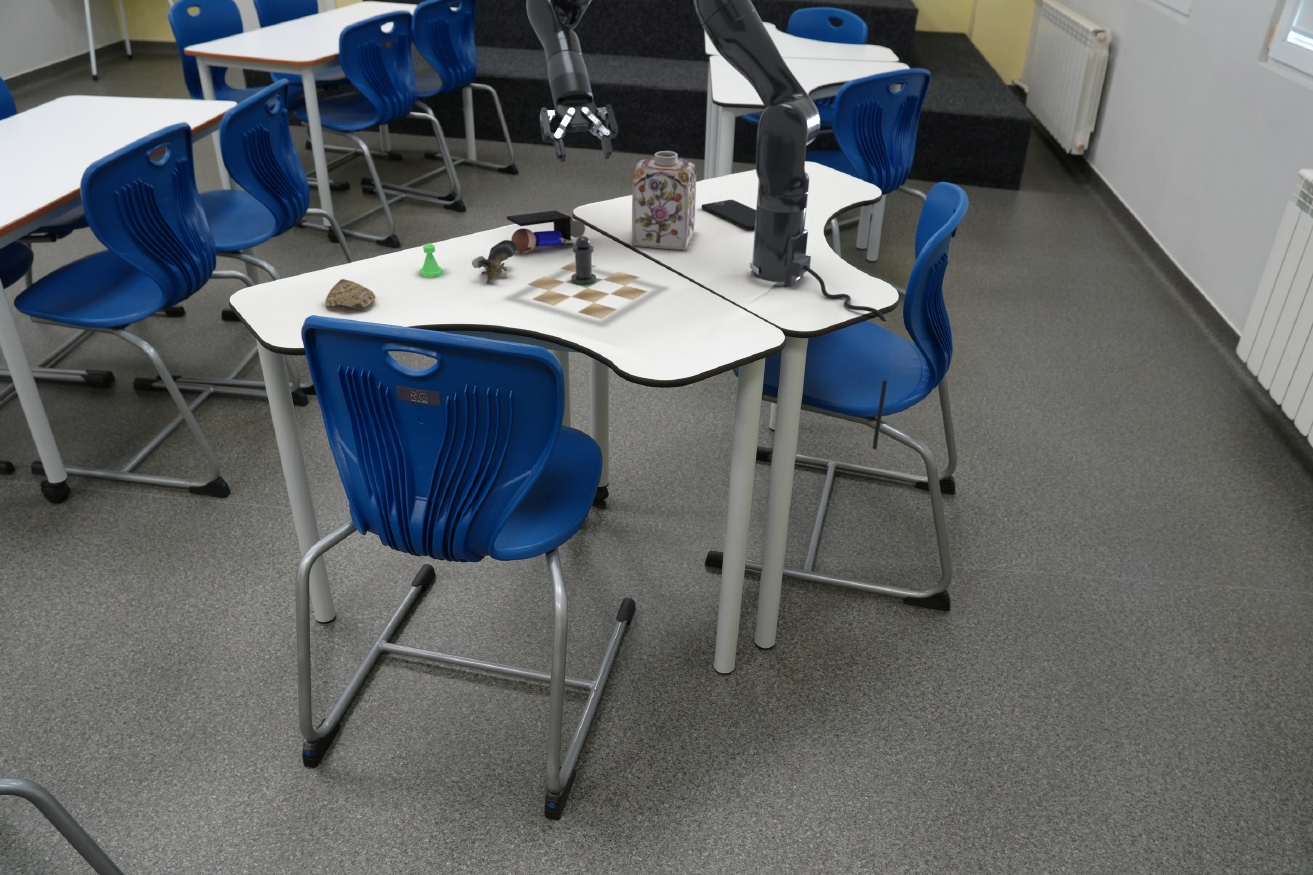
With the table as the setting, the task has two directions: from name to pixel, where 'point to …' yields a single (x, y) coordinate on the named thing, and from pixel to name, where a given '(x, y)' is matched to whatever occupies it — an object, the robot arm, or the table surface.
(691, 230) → the decorative jar
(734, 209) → the cell phone
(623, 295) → the chess board
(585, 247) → the black chess piece
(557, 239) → the figurine character
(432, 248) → the game piece
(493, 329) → the table surface
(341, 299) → the brown rock
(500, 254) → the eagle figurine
